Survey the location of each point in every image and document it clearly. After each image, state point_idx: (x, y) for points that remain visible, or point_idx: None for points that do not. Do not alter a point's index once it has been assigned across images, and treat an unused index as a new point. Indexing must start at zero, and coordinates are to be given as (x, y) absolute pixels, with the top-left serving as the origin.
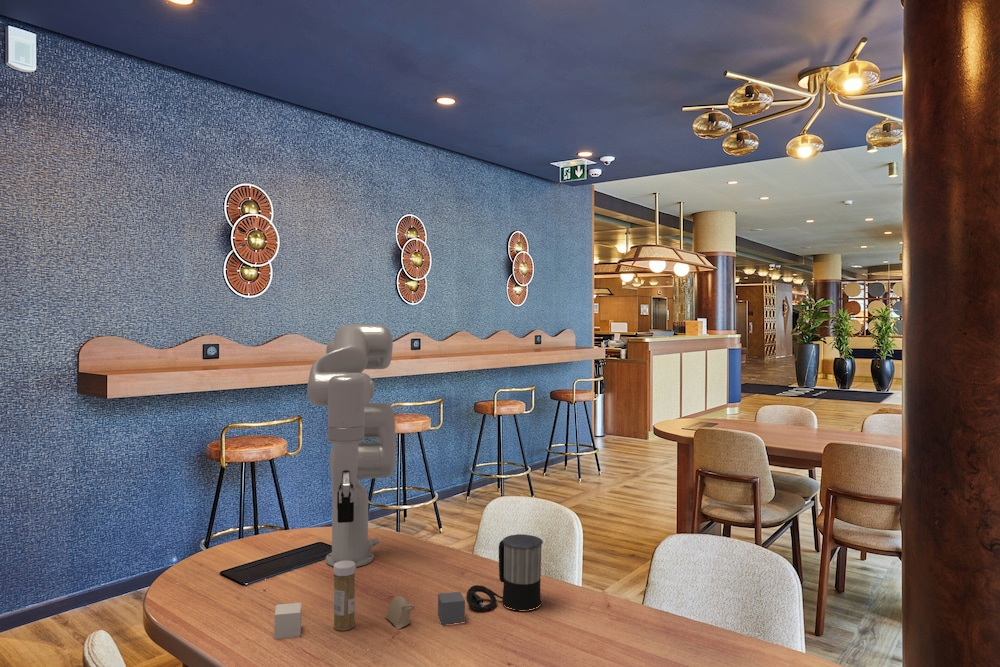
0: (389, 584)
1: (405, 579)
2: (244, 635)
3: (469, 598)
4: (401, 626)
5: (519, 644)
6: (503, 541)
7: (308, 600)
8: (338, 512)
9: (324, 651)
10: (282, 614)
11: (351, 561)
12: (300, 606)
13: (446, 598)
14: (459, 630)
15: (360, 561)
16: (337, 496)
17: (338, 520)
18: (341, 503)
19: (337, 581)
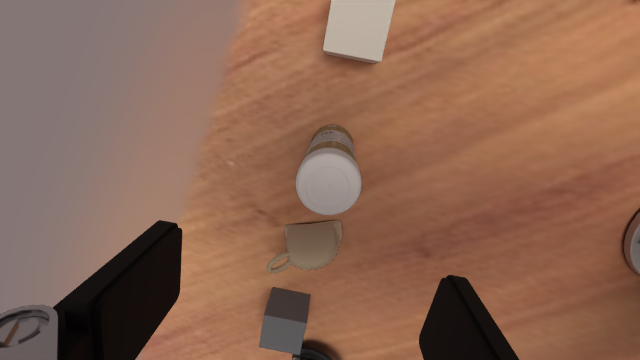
0: (485, 267)
1: (492, 298)
2: None
3: (314, 355)
4: (286, 233)
5: (182, 349)
6: None
7: (499, 99)
8: (121, 255)
9: (246, 90)
10: (331, 4)
11: (340, 208)
12: (358, 55)
13: (279, 327)
14: (248, 302)
15: (637, 250)
16: (492, 345)
17: (155, 227)
18: (72, 322)
19: (314, 150)
